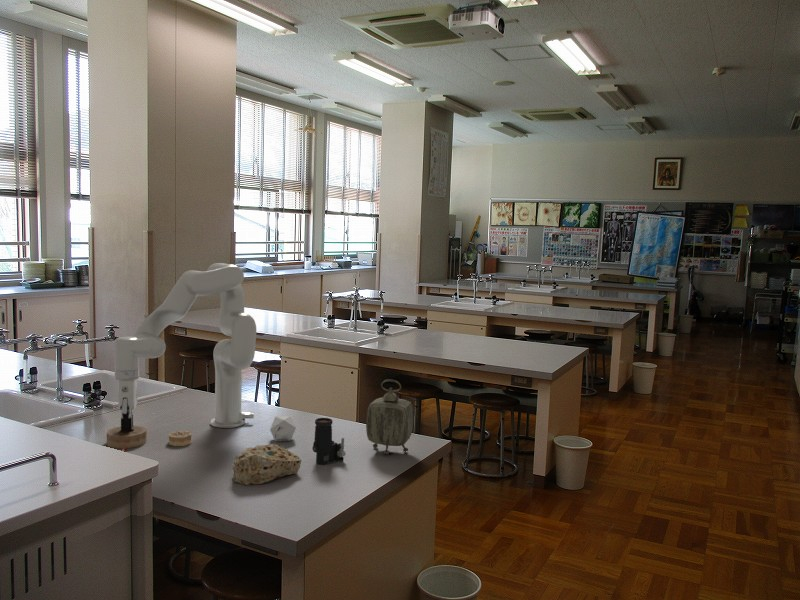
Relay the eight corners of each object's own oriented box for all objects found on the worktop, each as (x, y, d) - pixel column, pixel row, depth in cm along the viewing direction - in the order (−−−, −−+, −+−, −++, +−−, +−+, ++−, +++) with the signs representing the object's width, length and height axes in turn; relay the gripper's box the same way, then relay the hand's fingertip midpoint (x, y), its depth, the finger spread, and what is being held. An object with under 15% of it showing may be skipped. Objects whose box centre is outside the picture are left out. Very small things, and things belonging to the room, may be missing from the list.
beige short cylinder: (191, 438, 222) (191, 430, 221) (190, 445, 215) (190, 436, 215) (169, 439, 220) (169, 431, 219) (168, 446, 213) (168, 437, 213)
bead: (147, 435, 223) (147, 424, 222) (144, 447, 211) (144, 435, 211) (110, 437, 219) (110, 426, 219) (104, 449, 208) (104, 437, 208)
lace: (125, 448, 210) (125, 446, 210) (121, 457, 201) (121, 455, 201) (123, 448, 210) (123, 446, 209) (119, 457, 201) (119, 455, 201)
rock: (273, 463, 205) (282, 434, 203) (302, 486, 196) (311, 456, 194) (219, 473, 189) (227, 442, 187) (247, 498, 180) (256, 466, 178)
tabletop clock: (412, 451, 218) (415, 379, 216) (405, 460, 210) (408, 384, 207) (371, 446, 222) (374, 374, 220) (363, 454, 214) (365, 380, 211)
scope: (347, 419, 205) (323, 425, 197) (345, 461, 206) (322, 469, 199) (329, 413, 210) (306, 419, 202) (328, 455, 211) (304, 462, 204)
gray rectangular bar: (132, 433, 217) (132, 399, 216) (131, 436, 214) (131, 401, 213) (122, 434, 216) (122, 399, 215) (120, 437, 213) (120, 401, 212)
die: (264, 440, 225) (265, 423, 219) (278, 422, 232) (280, 405, 225) (285, 451, 224) (287, 434, 217) (299, 433, 230) (301, 416, 223)
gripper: (136, 379, 206) (136, 435, 208) (141, 368, 222) (141, 420, 224) (110, 380, 204) (111, 436, 206) (118, 369, 220) (118, 421, 222)
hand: (127, 427), depth 215 cm, fingers closed on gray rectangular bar, 3 cm apart
